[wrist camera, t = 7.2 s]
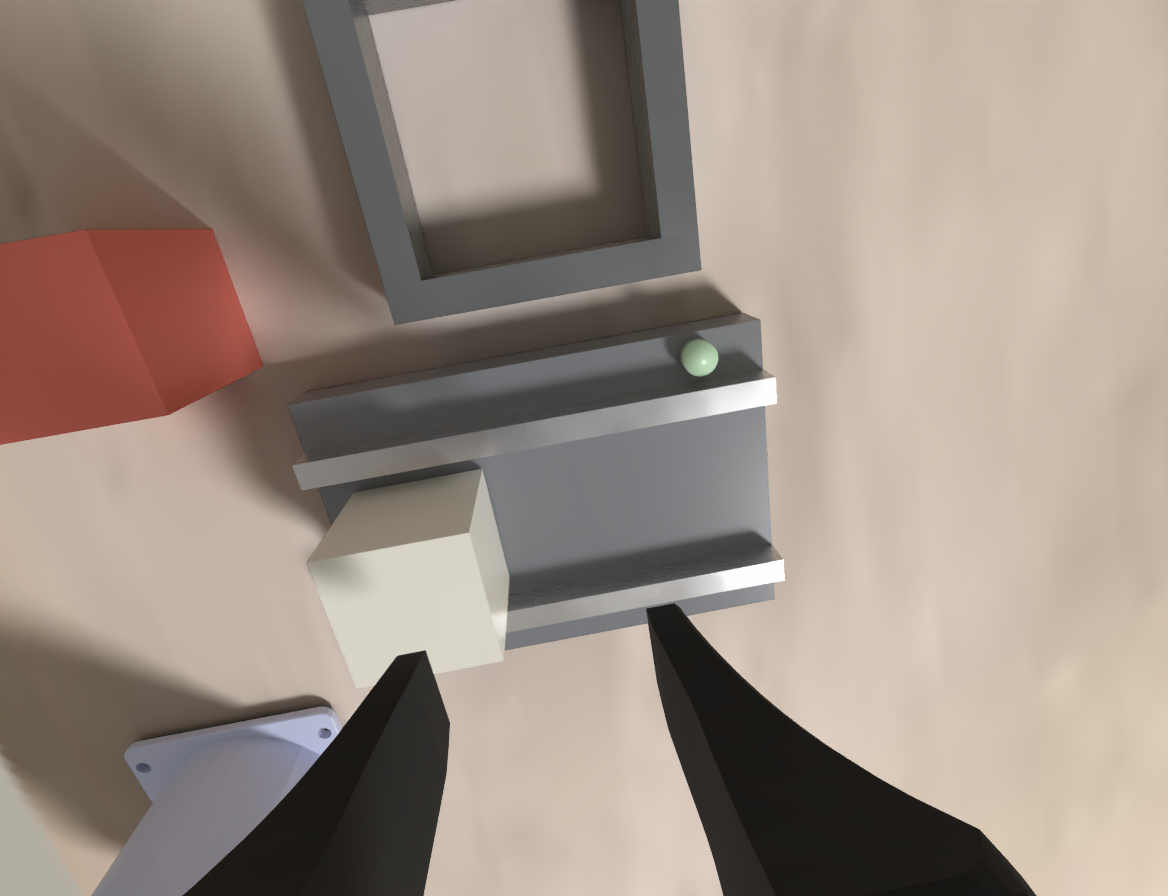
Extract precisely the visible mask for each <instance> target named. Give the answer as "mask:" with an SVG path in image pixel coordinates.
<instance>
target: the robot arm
mask: <svg viewBox="0 0 1168 896" xmlns="http://www.w3.org/2000/svg"><path fill="white" fill-rule="evenodd" d="M646 612H647V619H648V625H649V632H650V638H651V645H652V652H653V658H654V665H655V672H656V678H657V684H658V688H659V692H660V697H661V701H662V705H663V709H664V713H665V717H666V721H667V725H668V729H669V732H670V735H671V738H672V741H673V743H674V746H675V749H676V752H677V755H678V758H679V760H680V763H681V766H682V769H683V772H684V774H685V777H686V780H687V783H688V786H689V788H690V791H691V794H692V797H693V800H694V802H695V805H696V808H697V811H698V814H699V816H700V819H701V822H702V825H703V828H704V830H705V833H706V836H707V839H708V842H709V846H710V849H711V852H712V855H713V858H714V862H715V865H716V869H717V873H718V876H719V880H720V884H721V888H722V892H723V895H724V896H1036V895H1035V893H1034V892H1033V891H1032V889H1031V888H1030V887H1029V885H1028V884H1027V883H1026V881H1025V880H1024V879H1023V877H1022V876H1021V875H1020V874H1019V873H1018V872H1017V870H1016V869H1015V868H1014V867H1013V866H1012V865H1011V864H1010V862H1009V861H1008V860H1007V859H1006V858H1005V857H1004V856H1003V855H1002V853H1001V852H1000V851H999V850H998V849H997V848H996V847H995V846H994V845H993V844H992V843H991V841H990V840H989V839H988V838H987V837H986V836H985V835H984V834H983V833H982V832H981V830H979V829H978V828H975V827H973V826H971V825H969V824H967V823H965V822H963V821H961V820H959V819H957V818H955V817H953V816H951V815H949V814H947V813H945V812H942V811H940V810H938V809H936V808H934V807H932V806H930V805H928V804H926V803H924V802H922V801H920V800H918V799H916V798H914V797H912V796H910V795H908V794H906V793H904V792H903V791H901V790H899V789H897V788H895V787H894V786H892V785H890V784H888V783H887V782H885V781H883V780H881V779H879V778H878V777H876V776H874V775H873V774H871V773H870V772H868V771H866V770H865V769H863V768H862V767H860V766H859V765H857V764H855V763H854V762H852V761H851V760H849V759H847V758H846V757H844V756H843V755H841V754H840V753H838V752H836V751H835V750H833V749H832V748H830V747H829V746H827V745H826V744H824V743H823V742H822V741H820V740H819V739H817V738H816V737H815V736H813V735H812V734H810V733H809V732H808V731H806V730H805V729H803V728H802V727H801V726H800V725H798V724H797V723H796V722H794V721H793V720H792V719H790V718H789V717H788V716H787V715H785V714H784V713H783V712H782V711H780V710H779V709H778V708H777V707H775V706H774V705H773V704H772V703H771V702H770V701H768V700H767V699H766V698H765V697H764V696H763V695H761V694H760V693H759V692H758V691H757V690H756V689H755V688H754V687H753V686H751V685H750V684H749V683H748V682H747V681H746V680H745V679H744V678H743V677H742V676H741V675H740V674H739V673H738V672H736V671H735V670H734V669H733V668H732V667H731V665H730V664H729V663H728V662H727V661H726V660H725V659H724V658H723V657H722V656H721V655H720V654H719V653H718V652H717V651H716V650H715V649H714V648H713V647H712V646H711V645H710V644H709V643H708V641H707V640H706V639H705V638H704V637H703V636H702V635H701V633H700V632H699V631H698V630H697V629H696V627H695V626H694V625H693V624H692V623H691V621H690V620H689V619H688V617H687V616H686V615H685V614H684V612H683V611H682V609H681V608H680V607H679V606H678V605H676V604H675V603H673V604H667V605H662V606H657V607H652V608H646ZM323 728H327V729H329V730H325V729H323ZM449 729H450V722H449V719H448V716H447V713H446V710H445V707H444V704H443V701H442V698H441V695H440V692H439V689H438V686H437V683H436V680H435V677H434V674H433V671H432V668H431V665H430V662H429V659H428V656H427V653H426V650H424V651H419V652H414V653H408V654H403V655H398V656H397V657H396V658H395V659H394V660H393V662H392V663H391V664H390V666H389V667H388V668H387V670H386V671H385V672H384V674H383V675H382V676H381V678H380V679H379V680H378V682H377V683H376V684H375V686H374V687H373V689H372V690H371V691H370V693H369V694H368V695H367V697H366V698H365V699H364V701H363V702H362V703H361V705H360V706H359V707H358V709H357V710H356V711H355V713H354V714H353V715H352V717H351V718H350V719H349V720H348V722H347V723H346V724H345V726H344V727H343V728H342V727H341V724H340V722H339V720H338V717H337V715H336V713H335V712H334V711H333V710H332V709H330V708H328V707H316V708H310V709H305V710H300V711H295V712H289V713H284V714H279V715H274V716H268V717H263V718H258V719H253V720H247V721H242V722H237V723H232V724H226V725H221V726H216V727H211V728H205V729H200V730H195V731H190V732H184V733H179V734H174V735H169V736H163V737H158V738H153V739H148V740H142V741H137V742H135V743H133V744H132V745H131V746H130V747H129V748H128V749H127V751H126V752H125V754H124V758H125V760H126V762H127V764H128V765H129V767H130V768H131V770H132V772H133V773H134V775H135V776H136V778H137V780H138V781H139V783H140V784H141V786H142V788H143V789H144V791H145V792H146V794H147V795H148V797H149V799H150V800H151V802H152V805H151V806H150V808H149V809H148V811H147V812H146V814H145V815H144V817H143V818H142V820H141V821H140V823H139V824H138V826H137V827H136V829H135V830H134V832H133V833H132V835H131V836H130V838H129V839H128V841H127V842H126V844H125V845H124V847H123V848H122V850H121V851H120V853H119V855H118V856H117V858H116V859H115V861H114V862H113V864H112V865H111V867H110V868H109V870H108V871H107V873H106V874H105V876H104V877H103V879H102V880H101V882H100V883H99V885H98V886H97V888H96V889H95V891H94V892H93V894H92V895H91V896H424V889H425V884H426V879H427V874H428V869H429V863H430V858H431V853H432V848H433V842H434V837H435V832H436V827H437V822H438V816H439V811H440V806H441V800H442V795H443V789H444V784H445V778H446V773H447V760H448V747H449Z"/></svg>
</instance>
